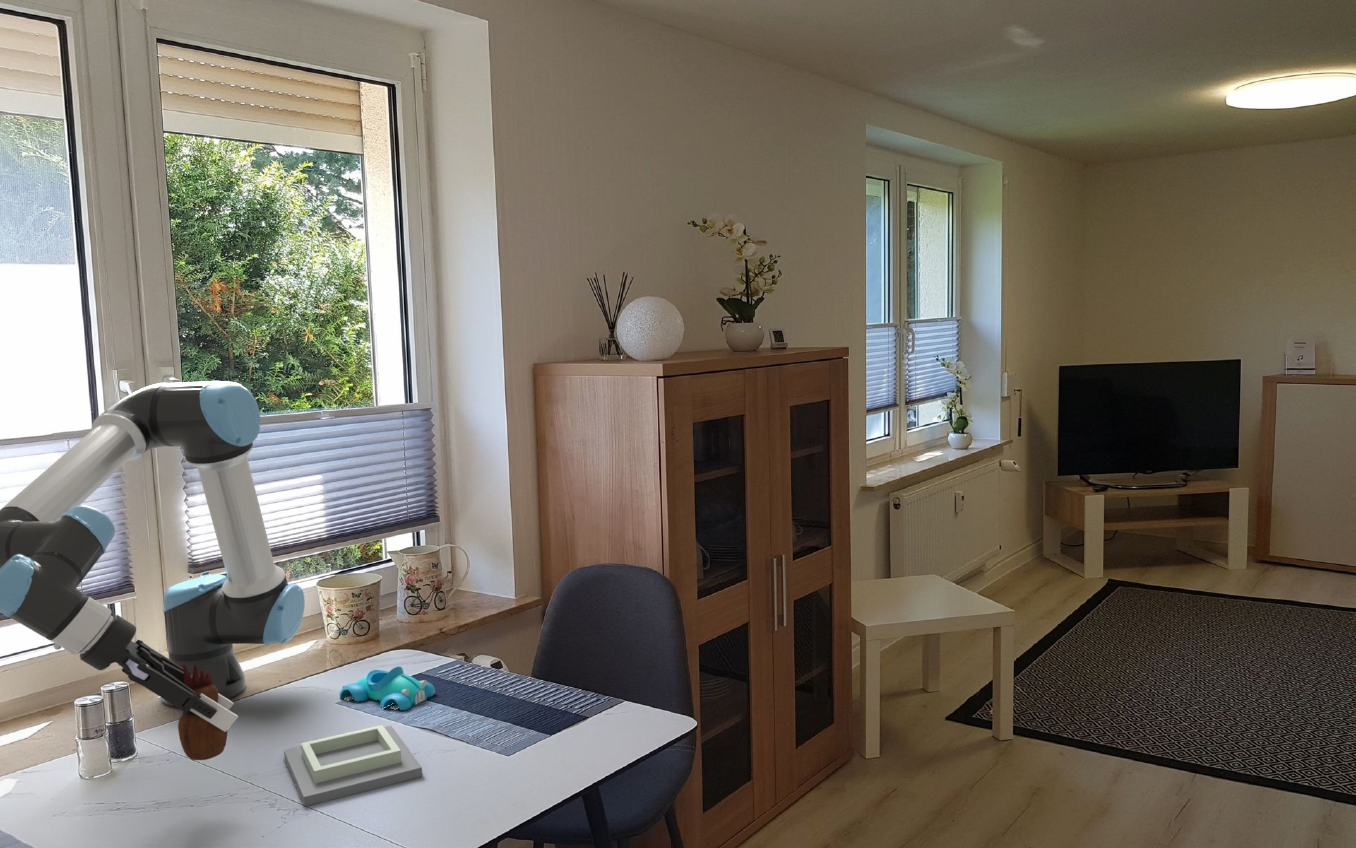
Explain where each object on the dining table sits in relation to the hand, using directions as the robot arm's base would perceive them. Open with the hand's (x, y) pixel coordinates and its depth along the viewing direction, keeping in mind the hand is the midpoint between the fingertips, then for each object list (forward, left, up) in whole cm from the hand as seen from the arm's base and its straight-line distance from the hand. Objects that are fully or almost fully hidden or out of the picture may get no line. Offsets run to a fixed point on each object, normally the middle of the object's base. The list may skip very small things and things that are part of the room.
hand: (229, 716), depth 156 cm
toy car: (-29, +30, -14) cm, 44 cm away
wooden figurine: (0, -4, -6) cm, 7 cm away
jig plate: (0, +18, -13) cm, 22 cm away
